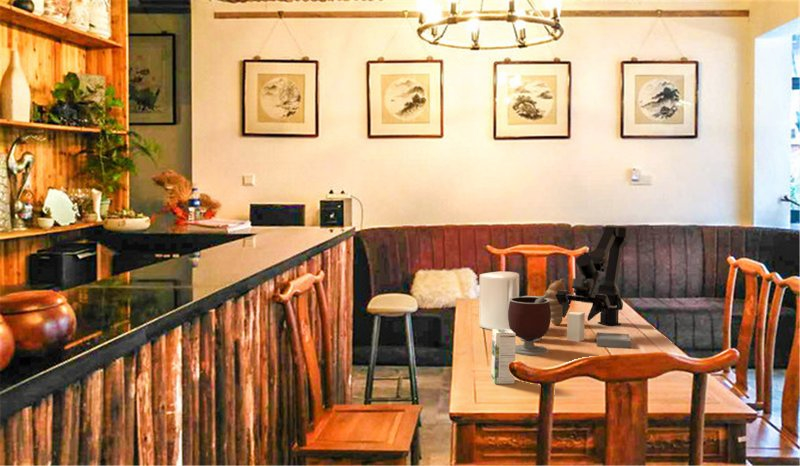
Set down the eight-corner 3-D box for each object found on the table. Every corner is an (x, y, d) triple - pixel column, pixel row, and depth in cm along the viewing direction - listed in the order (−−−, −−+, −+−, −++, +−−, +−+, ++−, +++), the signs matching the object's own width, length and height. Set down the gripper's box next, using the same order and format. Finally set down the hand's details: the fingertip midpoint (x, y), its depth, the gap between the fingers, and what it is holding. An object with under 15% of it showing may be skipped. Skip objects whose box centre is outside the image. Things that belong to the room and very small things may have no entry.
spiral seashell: (560, 322, 288) (561, 277, 287) (571, 325, 281) (572, 279, 279) (541, 323, 285) (541, 278, 284) (551, 327, 278) (552, 280, 276)
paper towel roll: (515, 324, 283) (515, 268, 281) (530, 332, 269) (531, 273, 268) (478, 326, 280) (478, 269, 278) (491, 334, 266) (492, 274, 264)
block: (572, 337, 261) (572, 311, 260) (584, 339, 258) (584, 312, 257) (567, 340, 257) (567, 313, 256) (579, 341, 254) (579, 314, 254)
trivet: (596, 339, 258) (596, 331, 258) (628, 341, 255) (629, 333, 255) (596, 346, 247) (596, 338, 247) (630, 348, 244) (630, 340, 244)
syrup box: (490, 378, 208) (491, 328, 207) (510, 378, 208) (511, 328, 207) (494, 384, 202) (495, 333, 201) (515, 383, 203) (516, 332, 202)
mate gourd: (499, 349, 244) (499, 289, 242) (531, 344, 250) (532, 286, 249) (529, 359, 230) (529, 296, 229) (562, 353, 237) (563, 293, 235)
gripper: (558, 267, 265) (544, 302, 257) (608, 272, 254) (595, 307, 246) (566, 286, 272) (553, 320, 264) (615, 291, 261) (603, 326, 253)
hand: (575, 318), depth 257 cm, fingers open, 9 cm apart
